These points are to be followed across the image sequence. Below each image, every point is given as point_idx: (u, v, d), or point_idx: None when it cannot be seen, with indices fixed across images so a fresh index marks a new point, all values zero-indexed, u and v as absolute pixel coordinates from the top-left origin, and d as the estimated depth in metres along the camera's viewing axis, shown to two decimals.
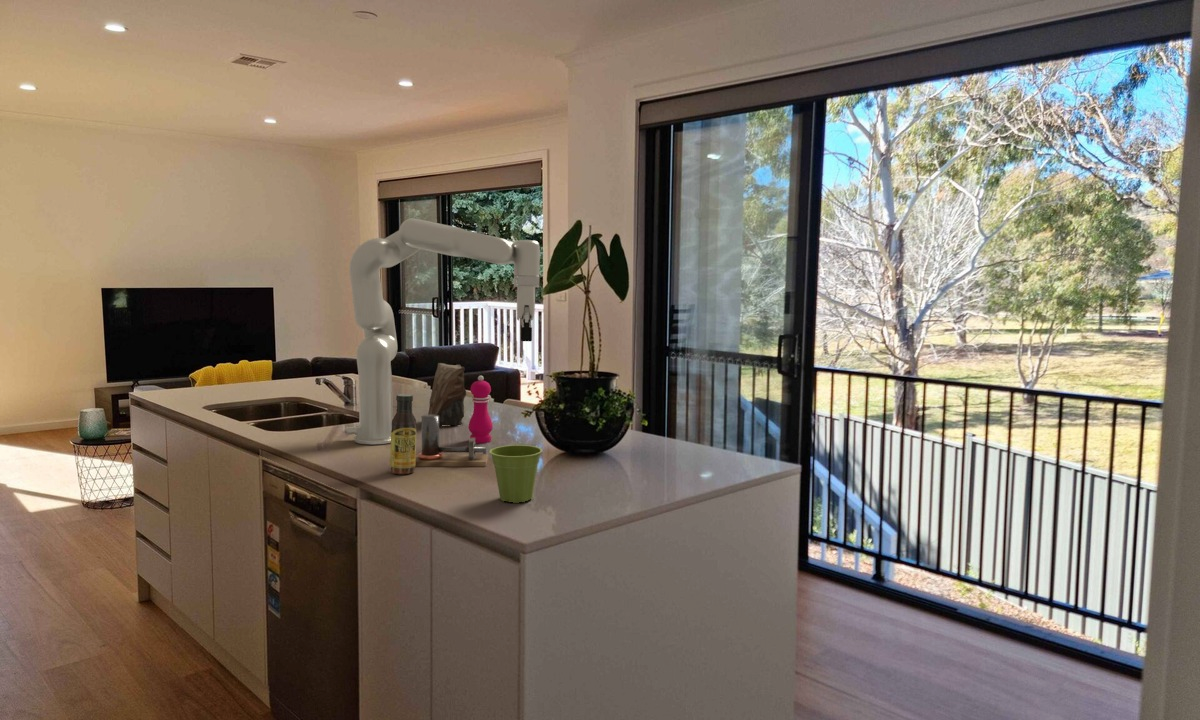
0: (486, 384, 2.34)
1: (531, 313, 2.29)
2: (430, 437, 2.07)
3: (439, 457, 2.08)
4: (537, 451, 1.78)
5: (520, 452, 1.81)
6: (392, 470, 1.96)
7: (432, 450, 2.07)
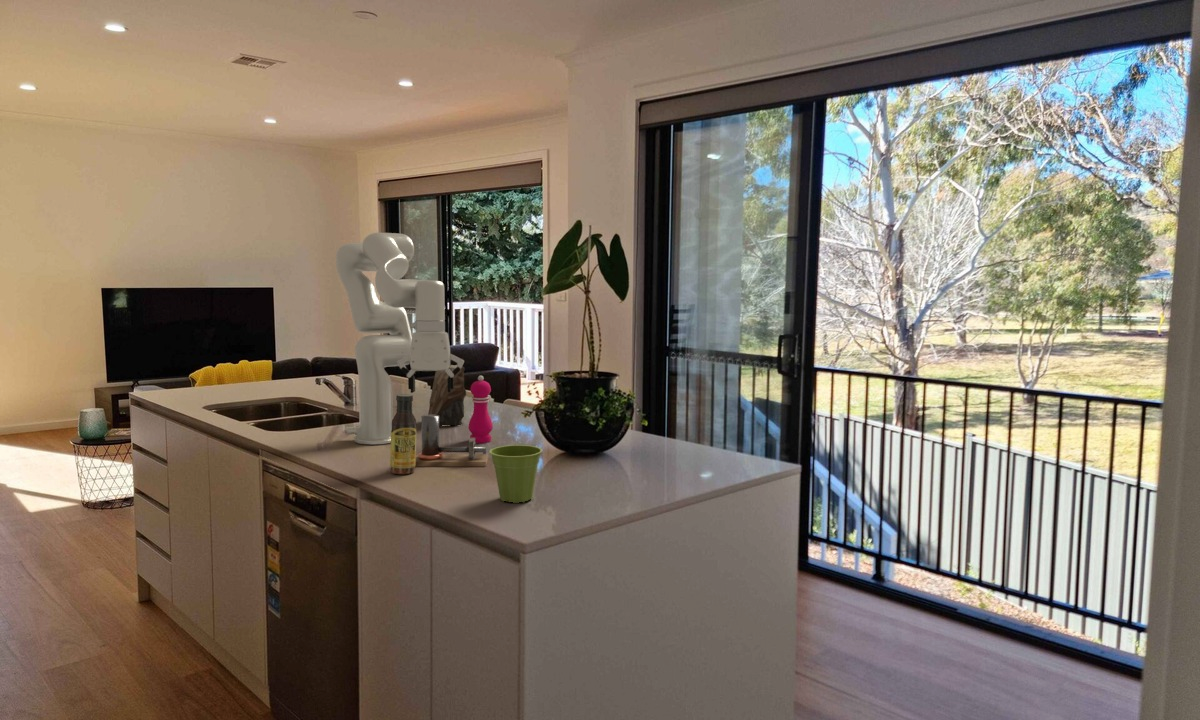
0: (486, 384, 2.34)
1: (450, 361, 2.09)
2: (430, 437, 2.07)
3: (439, 457, 2.08)
4: (537, 451, 1.78)
5: (520, 452, 1.81)
6: (392, 470, 1.96)
7: (432, 450, 2.07)
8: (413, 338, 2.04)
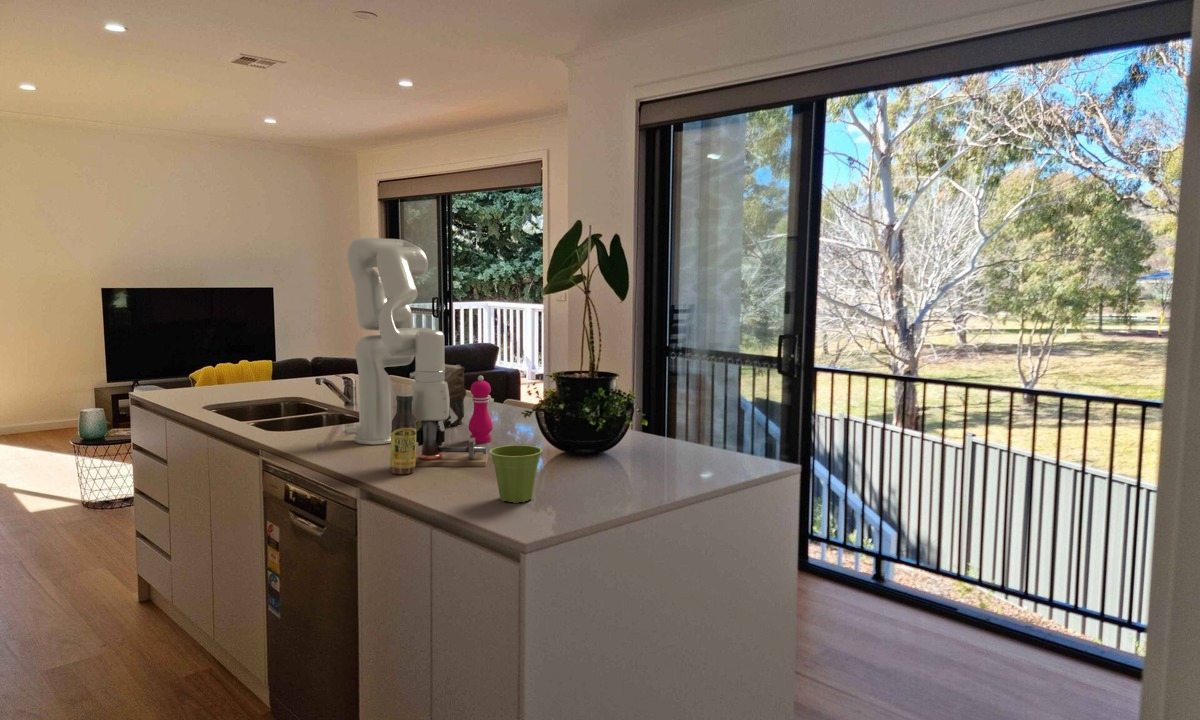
0: (486, 384, 2.34)
1: None
2: (430, 437, 2.07)
3: (439, 457, 2.08)
4: (537, 451, 1.78)
5: (520, 452, 1.81)
6: (392, 470, 1.96)
7: (432, 450, 2.07)
8: (413, 388, 2.05)
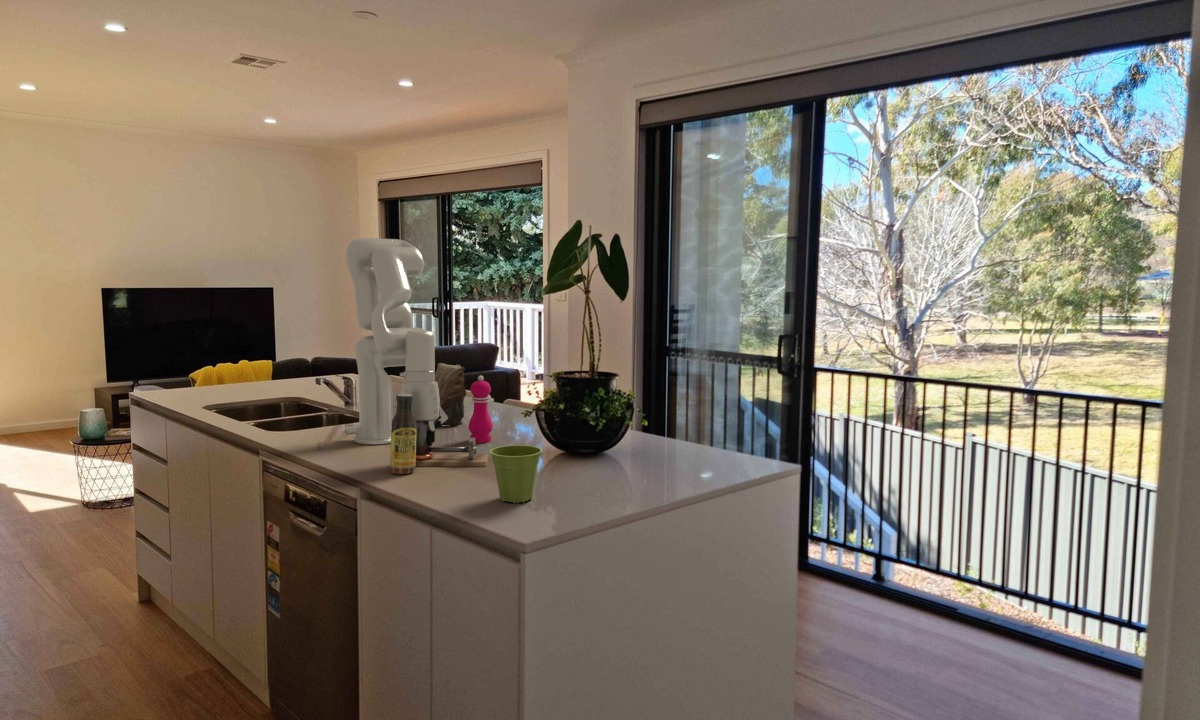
0: (486, 384, 2.34)
1: None
2: (420, 436, 2.06)
3: (429, 457, 2.08)
4: (537, 451, 1.78)
5: (520, 452, 1.81)
6: (392, 470, 1.96)
7: (422, 450, 2.07)
8: (403, 388, 2.05)
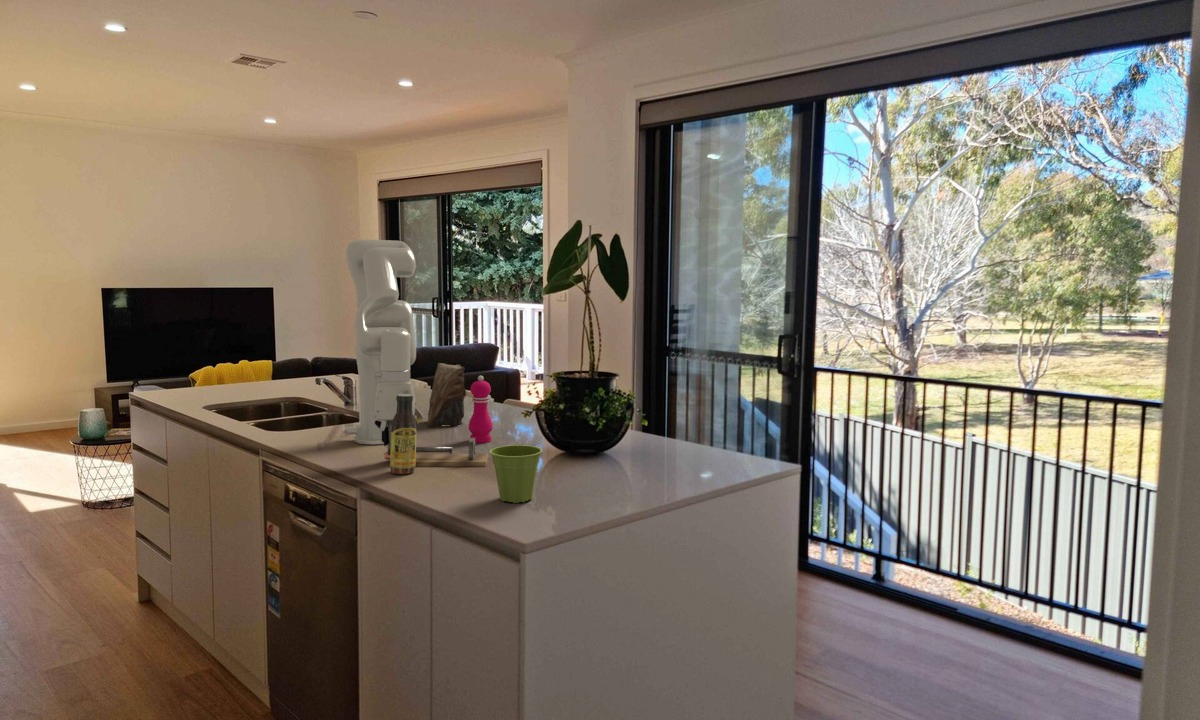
0: (486, 384, 2.34)
1: None
2: None
3: None
4: (537, 451, 1.78)
5: (520, 452, 1.81)
6: (392, 470, 1.96)
7: None
8: (378, 388, 2.04)
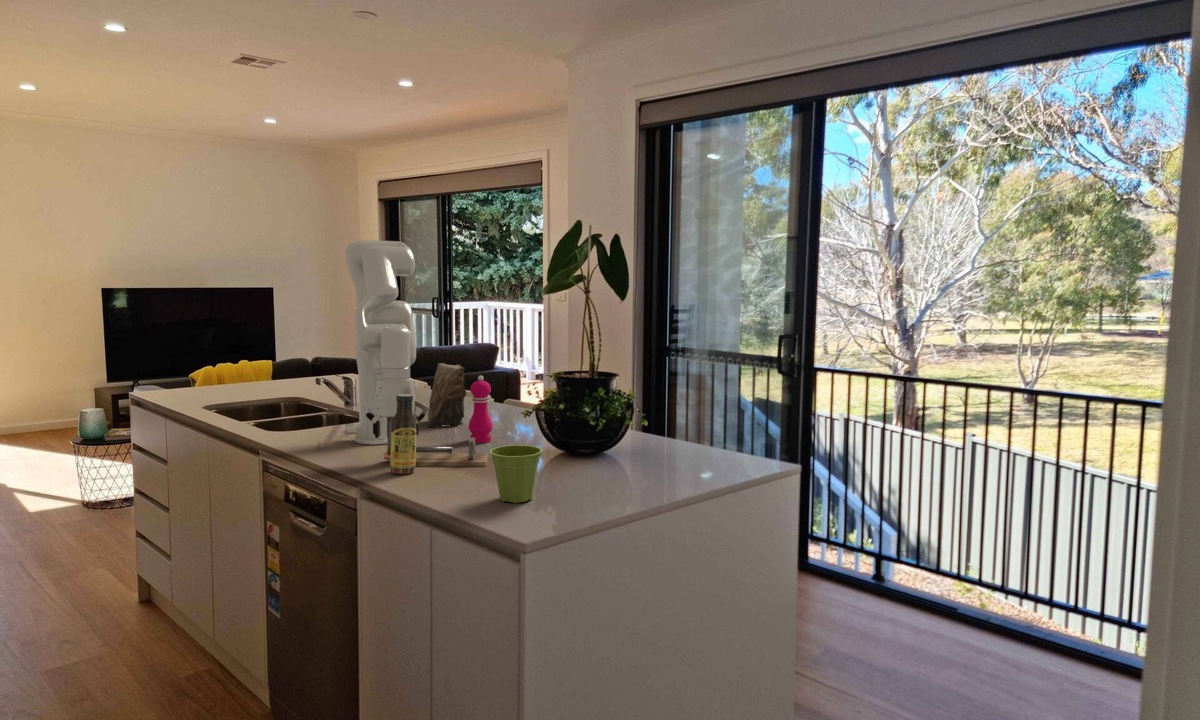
0: (486, 384, 2.34)
1: (415, 406, 2.10)
2: None
3: None
4: (537, 451, 1.78)
5: (520, 452, 1.81)
6: (392, 470, 1.96)
7: None
8: (378, 385, 2.05)
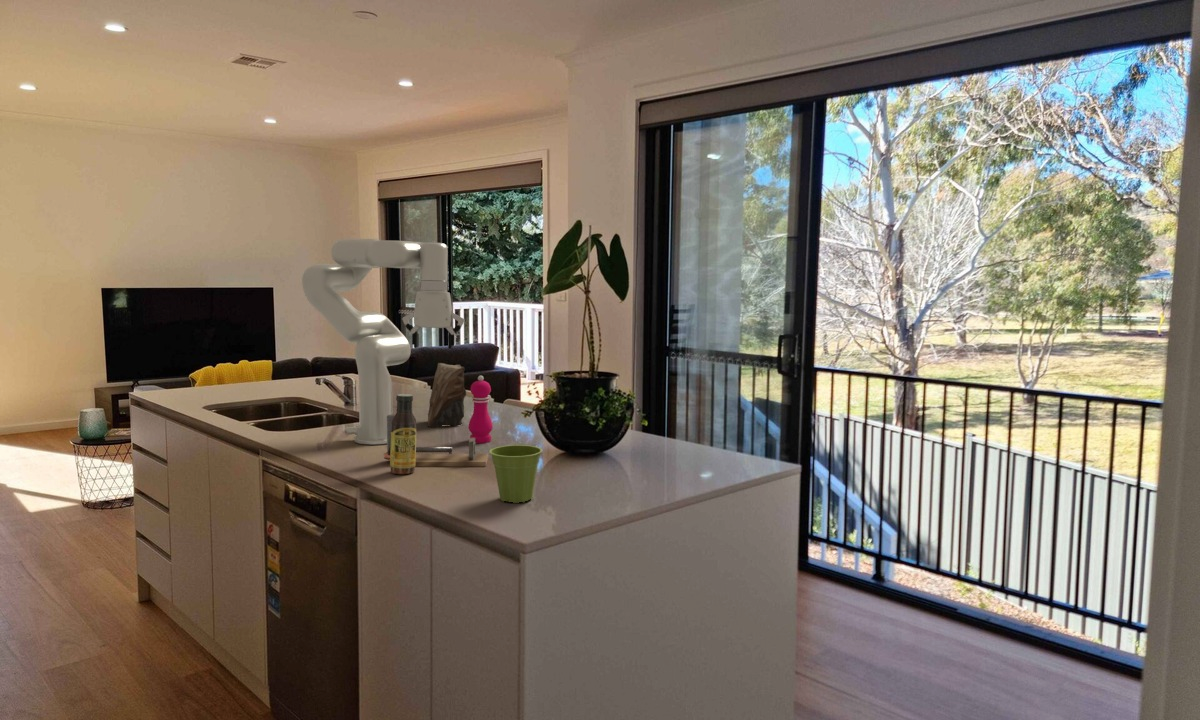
0: (486, 384, 2.34)
1: None
2: None
3: None
4: (537, 451, 1.78)
5: (520, 452, 1.81)
6: (392, 470, 1.96)
7: None
8: (417, 296, 2.17)
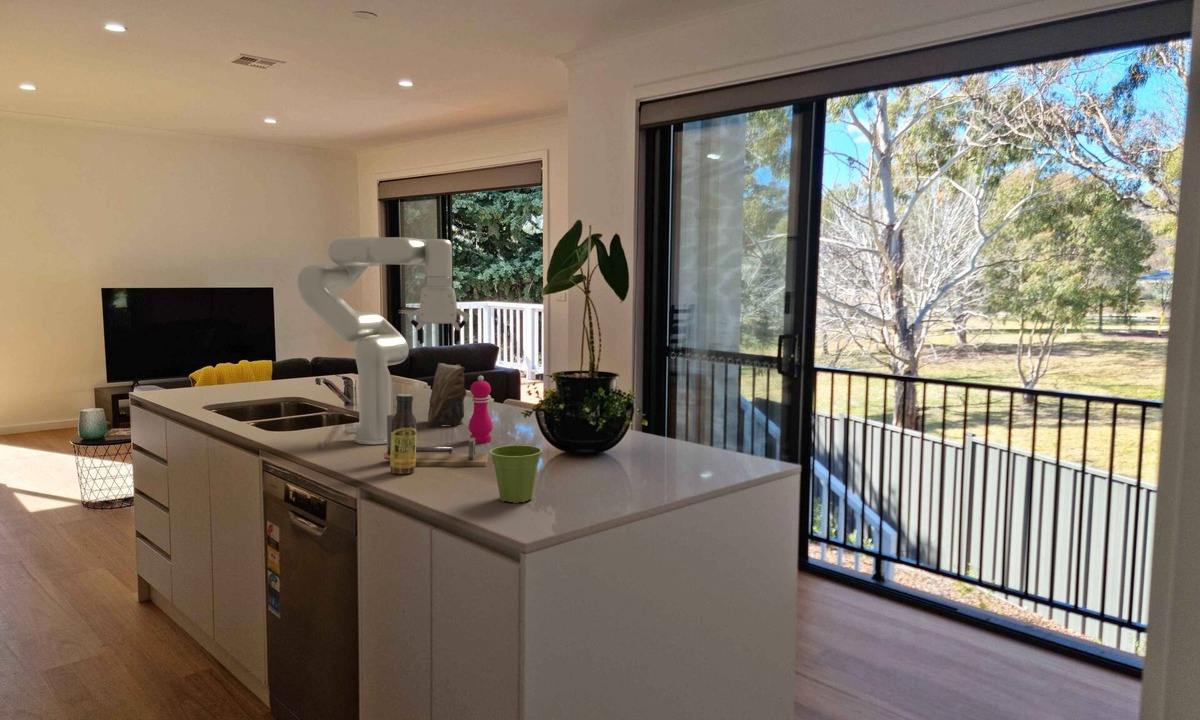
0: (486, 384, 2.34)
1: None
2: None
3: None
4: (537, 451, 1.78)
5: (520, 452, 1.81)
6: (392, 470, 1.96)
7: None
8: (422, 293, 2.19)
